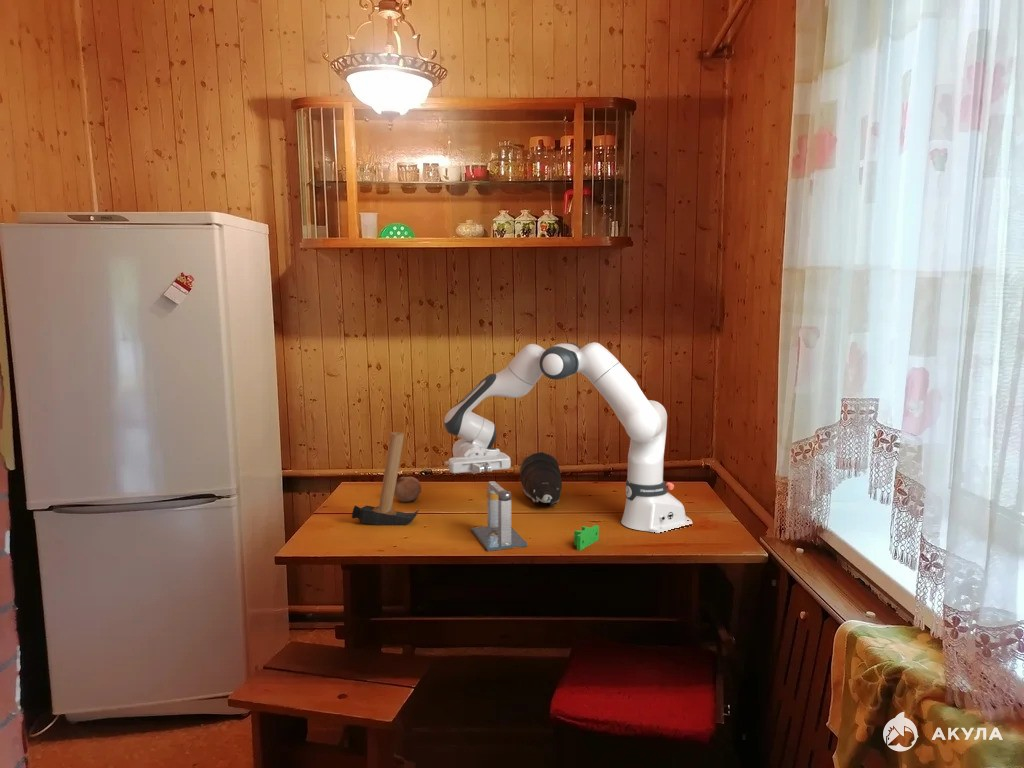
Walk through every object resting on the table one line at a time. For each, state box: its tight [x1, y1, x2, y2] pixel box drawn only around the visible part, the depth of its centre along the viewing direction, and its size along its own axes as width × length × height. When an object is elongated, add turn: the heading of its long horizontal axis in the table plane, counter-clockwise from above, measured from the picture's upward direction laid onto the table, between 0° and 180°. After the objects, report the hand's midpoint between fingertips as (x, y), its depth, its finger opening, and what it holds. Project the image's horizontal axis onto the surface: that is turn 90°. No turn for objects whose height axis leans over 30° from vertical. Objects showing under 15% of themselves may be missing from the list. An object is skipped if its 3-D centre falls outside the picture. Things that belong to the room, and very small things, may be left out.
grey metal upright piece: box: [487, 481, 512, 544], centre depth 210 cm, size 4×15×15 cm, turn 19°
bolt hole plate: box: [470, 525, 529, 552], centre depth 211 cm, size 12×18×1 cm, turn 19°
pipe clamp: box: [573, 524, 600, 551], centre depth 207 cm, size 11×4×5 cm, turn 145°
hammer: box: [351, 431, 419, 527], centre depth 223 cm, size 20×5×30 cm, turn 89°
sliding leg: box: [486, 487, 499, 530], centre depth 215 cm, size 3×3×13 cm
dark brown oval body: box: [519, 451, 563, 507], centre depth 247 cm, size 15×15×25 cm
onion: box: [394, 476, 422, 503], centre depth 248 cm, size 10×9×10 cm
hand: (485, 469), depth 221 cm, fingers closed
